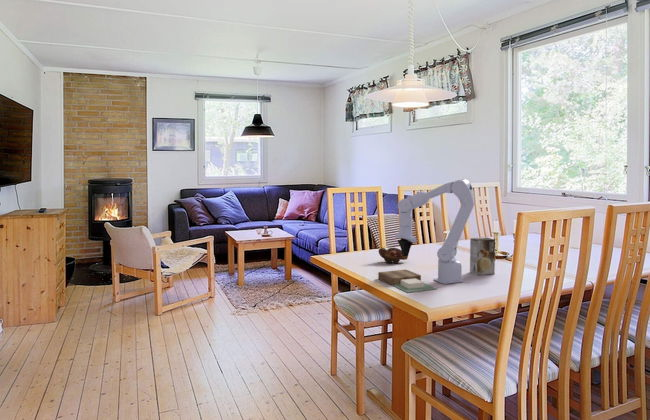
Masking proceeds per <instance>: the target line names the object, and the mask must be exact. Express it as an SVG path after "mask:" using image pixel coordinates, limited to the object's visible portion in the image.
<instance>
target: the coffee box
mask: <svg viewBox="0 0 650 420" xmlns="http://www.w3.org/2000/svg"><path fill="white" fill-rule="evenodd" d="M469 241H470V242H469V243H470V245H469V246H470V247H469V248H470V249H469V250H470V251H469V253H470V255H469V258H470V259H469V272H470V273H471V274H472V275H475V276H486V275H495V270H496V269H495V265H496V264H495V262H496V261H495V259H496V256H495V255H496V254H495V253H496V239H494V238H489V237H475V238H473V237H472V238H470V239H469Z"/></svg>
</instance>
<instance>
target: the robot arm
mask: <svg viewBox="0 0 650 420" xmlns="http://www.w3.org/2000/svg"><path fill="white" fill-rule="evenodd" d="M445 193H447V194H453V195H455V196H456V197H457V199H458V201H459V203H460V204H461V205H460V207H459V210H458V212H457V215H456V217H455V219H454V220H453V223H452V226H451V228H450V231H449V233H448V235H447V237H446V239H445V241H444V243H443V244H442V246H441V247H440V248H438V250H437V252H436V253H437V254H436V255H437V258H438V261H437V262H438V263H437V278H433V280H434V281H435V282H439V283H441V284H443V285H446V284H447V285H449V284H454V283H456V284H457V283H462V282H463V280H462V275H463V274H462V273H463V271H462V263H461V262H460V260H457V259H456V257H455V256H456V255H457V248H458V245H459V241H460V238H461V236H462V234H463V232H464V229H465V227H466V225H467V223H468V220H469V218H470V215H471V214H472V211H473V209H474V207H475V196H474V195H475V194H474V188H473V186H472V184H471V182H470V181H469V180H467V179H457V180H455V181H451V182H446V183H444V184H442V185H440V186H438V187H435V188H434V189H431V190H429V191H428V192H425V191H423V190H422V191H420V190H419V191H416V193H415V194H413V195H408V196H406V198H402V199H401V200H399V201H398V203H397V209H398V211H399V212H398V213H399V214H398V215H399V216H398V218H399V219H398V222H399V223H398V226H399V227H398V232H397V233H395V235H394V237H395V239H398V240H397V243H398V245H399V247H400V250H401V251H402V255H403V256H408V257H409V253H410V251H411V247H412V245H413V244H414V243H417V237H416V236H414V235H413V210H414V209H417V208H420V207H423V206H425V205H427V204H428V203H429V201H430V199H433V198H435V197H439V196H440V195H444V194H445Z"/></svg>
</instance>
